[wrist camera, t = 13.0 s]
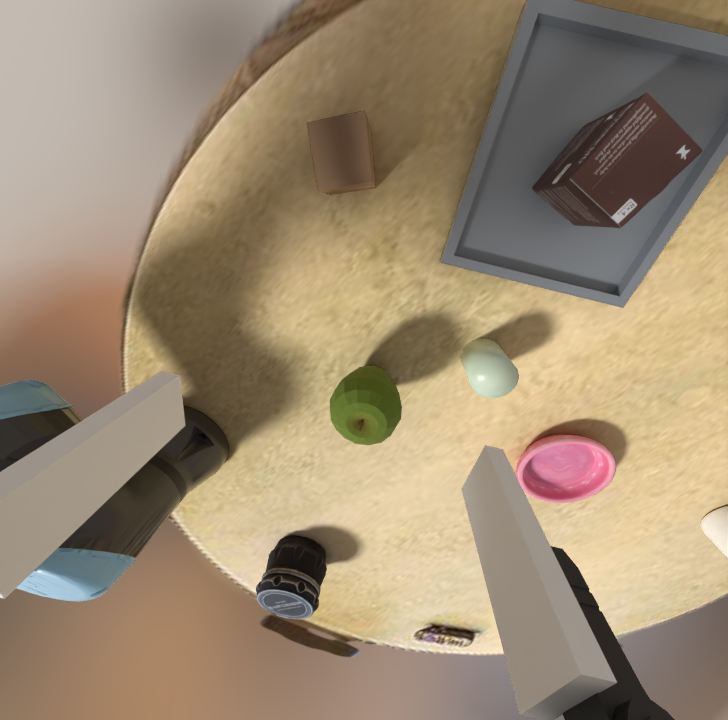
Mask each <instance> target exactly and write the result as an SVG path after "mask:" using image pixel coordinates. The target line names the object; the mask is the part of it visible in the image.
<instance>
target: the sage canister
mask: <svg viewBox="0 0 728 720" xmlns="http://www.w3.org/2000/svg"><path fill="white" fill-rule="evenodd" d="M461 362H462V364H463V367H464V369H465V371H466V374H467V376H468V379H469V381H470V384H471V386H472V388H473V390H474V391H475V392H476V393H477V394H478V395H480V396H482V397H486V398H498V397H502V396H504V395H506V394H508V393H509V392H511V391H512V390H513V389H514V388H515V386H516V385H517V383H518V379H519V374H518V370H517V368H516V367H515V366H514V364H513V363H512V362H511V360H510V359H509V358H508V357H507V355H506V354H505V353H504V351H503V350H502V349H501V348H500V346H499V345H498V344H497V343H496V342H495V341H493V340H491V339H486V338H481V339H476V340H474V341H472V342H470V343H469V344H467V345H466V346H465V348H464V349H463V351H462V354H461Z"/></svg>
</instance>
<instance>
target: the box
mask: <svg viewBox="0 0 728 720" xmlns="http://www.w3.org/2000/svg"><path fill="white" fill-rule="evenodd" d="M702 151H703V150H702V148H701V147H700V146H699V145H698V144H697V143H696V142H695V141H694V140H693V139H692V138H691V137H690V136H689V135H688V134H687V133H686V132H685V131H684V130H683V129H682V128H681V127H680V126H679V124H678V123H677V122H676V121H675V120H674V119H673V118H672V117H671V116H670V115H669V114H668V113H667V112H666V111H665V109H664V108H663V107H662V106H661V105H660V104H659V103H658V102H657V101H656V100H655V99H654V98H653V97H652V96H651V95H650V94H649V93H648V92H647V93H645V94H643V95H642V96H640V97H639V98H637V99H634V100H632V101H630V102H628V103H626V104H625V105H623V106H621V107H619V108H617V109H615V110H613V111H611V112H609V113H607V114H605V115H603V116H601V117H599V118H597V119H596V120H594V121H592V122H590V123H588V124H586V125H584V126H583V127H582V129H581V130H580V131H579V132H578V133H577V134H576V135H575V137H574V138H573V139H572V140H571V141H570V142H569V144H568V145H567V146H566V147H565V148H564V149H563V151H562V152H561V153H560V154H559V155H558V156H557V158H556V159H555V160H554V161H553V162H552V164H551V165H550V166H549V167H548V168H547V170H546V171H545V172H544V173H543V175H542V176H541V177H540V178H539V180H538V181H537V182H536V183H535V184H534V185H533V187H532V190H533V191H534V192H535V193H537V194H538V195H539V196H540V197H541V198H542V199H544V200H545V201H546V202H547V203H548V204H550V205H551V206H552V207H553V208H554V209H555V210H556V211H557V212H558V213H560V214H561V215H562V216H563V217H564V218H565V219H566V220H567V221H568V222H570V223H571V224H573V225H576V226H592V227H609V228H611V227H613V228H622V227H623V226H625V225H626V224H627V223H628V222H629V221H630V220H631V219H632V218H633V217H634V216H635V215H636V214H637V213H638V212H639V211H640V210H641V209H642V208H643V207H644V206H645V205H647V204H648V203H649V202H650V201H651V200H652V199H653V198H655V197H656V196H657V195H659V194H660V193H661V192H662V191H663V190H664V189H665V188H666V187H667V186H668V184H669V183H670V182H671V181H672V180H673V179H674V178H675V177H676V176H677V175H678V174H679V173H680V172H681V171H682V170H683V169H684V168H686V167H687V166H688V165H689V164H690V163H691V162H692V161H693V160H694V159H695V158H696V157H697V156H698V155H699V154H700V153H701V152H702Z"/></svg>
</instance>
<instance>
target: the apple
mask: <svg viewBox="0 0 728 720" xmlns="http://www.w3.org/2000/svg"><path fill="white" fill-rule="evenodd" d="M401 409H402V406H401V401H400V396H399V392H398V390H397V387H396V385H395V383H394V382H393V380H392V379H391V377H390V376H389V374H388V373H387V372H386V371H385V370H384V369H382V368H380V367H378V366H364V367H360V368H358V369H357V370H355V371H353V372H352V373H350V374H349V375H348V376H346V377H345V378H344V379H342V381H341V382H340V383H339V385H338V386H337V388H336V389H335V391H334V393H333V395H332V397H331V399H330V413H331V421H332V423H333V424H334V426H335V428H336V430H337V431H338V432H339V433H340V434H341V435H342V436H343V437H344V438H346V439H348V440H350V441H352V442H354V443H356V444H363V445H372V444H377V443H381V442H383V441H384V440H385V439H387V438H388V437H389V436H391V434H392V432H393V431H394V429H395V428H396V426H397V424H398V423H399V421H400V419H401Z"/></svg>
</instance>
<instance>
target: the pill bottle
mask: <svg viewBox="0 0 728 720" xmlns="http://www.w3.org/2000/svg"><path fill="white" fill-rule="evenodd" d="M701 528H702V530H703V532H704V533H705V534H706V535H707V536H708V538H709V539H710V540H711V541H712V542H713V543H714V544H715V545H716V546H717V547H718V548H719V549H720V550H721V551H722V552H723V553H724V554H725V555H726V556H727V558H728V506H726V507H722V508H719V509H716V510H714V511H712V512H710V513H709V514H707V515H706V516H705V517H704V518H703V520H702V521H701Z"/></svg>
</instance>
